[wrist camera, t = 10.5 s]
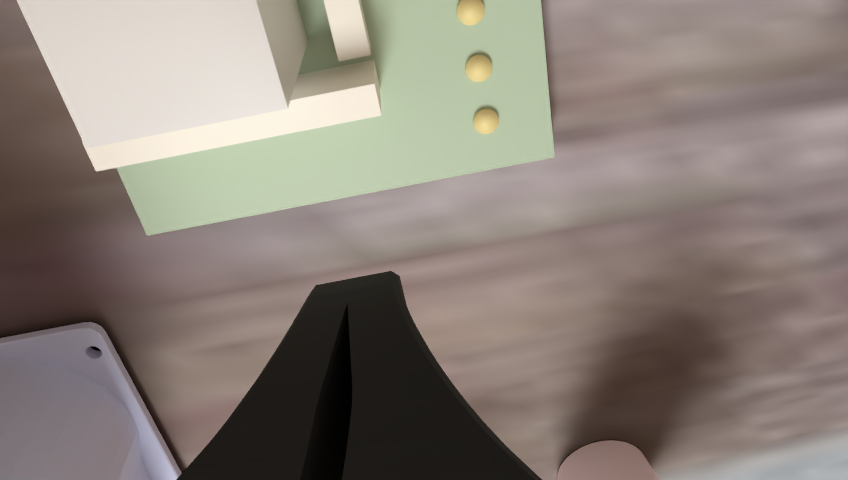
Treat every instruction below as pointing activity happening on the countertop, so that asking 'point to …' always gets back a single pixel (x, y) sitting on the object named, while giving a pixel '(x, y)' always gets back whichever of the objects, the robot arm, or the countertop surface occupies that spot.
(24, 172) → the countertop surface
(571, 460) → the smoothie
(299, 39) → the white block
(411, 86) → the board
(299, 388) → the robot arm
